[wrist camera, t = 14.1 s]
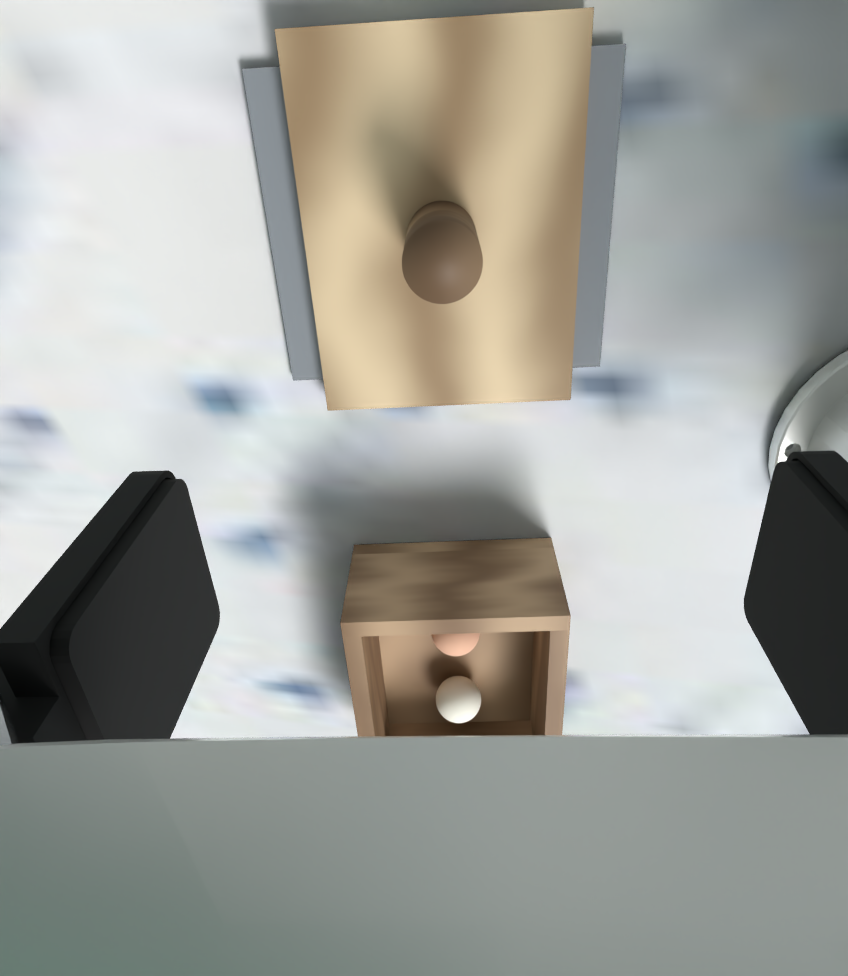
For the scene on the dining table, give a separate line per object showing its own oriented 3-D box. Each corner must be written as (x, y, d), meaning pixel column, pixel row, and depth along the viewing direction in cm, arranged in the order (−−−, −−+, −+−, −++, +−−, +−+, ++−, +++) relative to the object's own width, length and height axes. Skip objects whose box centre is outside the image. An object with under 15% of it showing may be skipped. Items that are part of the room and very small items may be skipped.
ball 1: (478, 595, 42) (481, 629, 40) (479, 631, 44) (481, 666, 41) (430, 597, 43) (429, 630, 40) (432, 633, 44) (432, 667, 42)
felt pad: (623, 44, 28) (626, 43, 28) (598, 363, 36) (599, 366, 35) (244, 68, 29) (241, 68, 29) (294, 377, 36) (292, 380, 36)
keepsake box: (551, 537, 41) (570, 615, 35) (542, 718, 50) (556, 806, 44) (354, 544, 42) (340, 622, 36) (377, 722, 50) (369, 810, 44)
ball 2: (479, 665, 46) (482, 700, 43) (480, 696, 47) (482, 732, 44) (434, 666, 46) (434, 701, 43) (436, 698, 47) (436, 733, 45)
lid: (589, 9, 28) (624, -7, 22) (567, 392, 36) (589, 444, 31) (279, 30, 28) (244, 19, 23) (330, 402, 37) (312, 455, 31)
